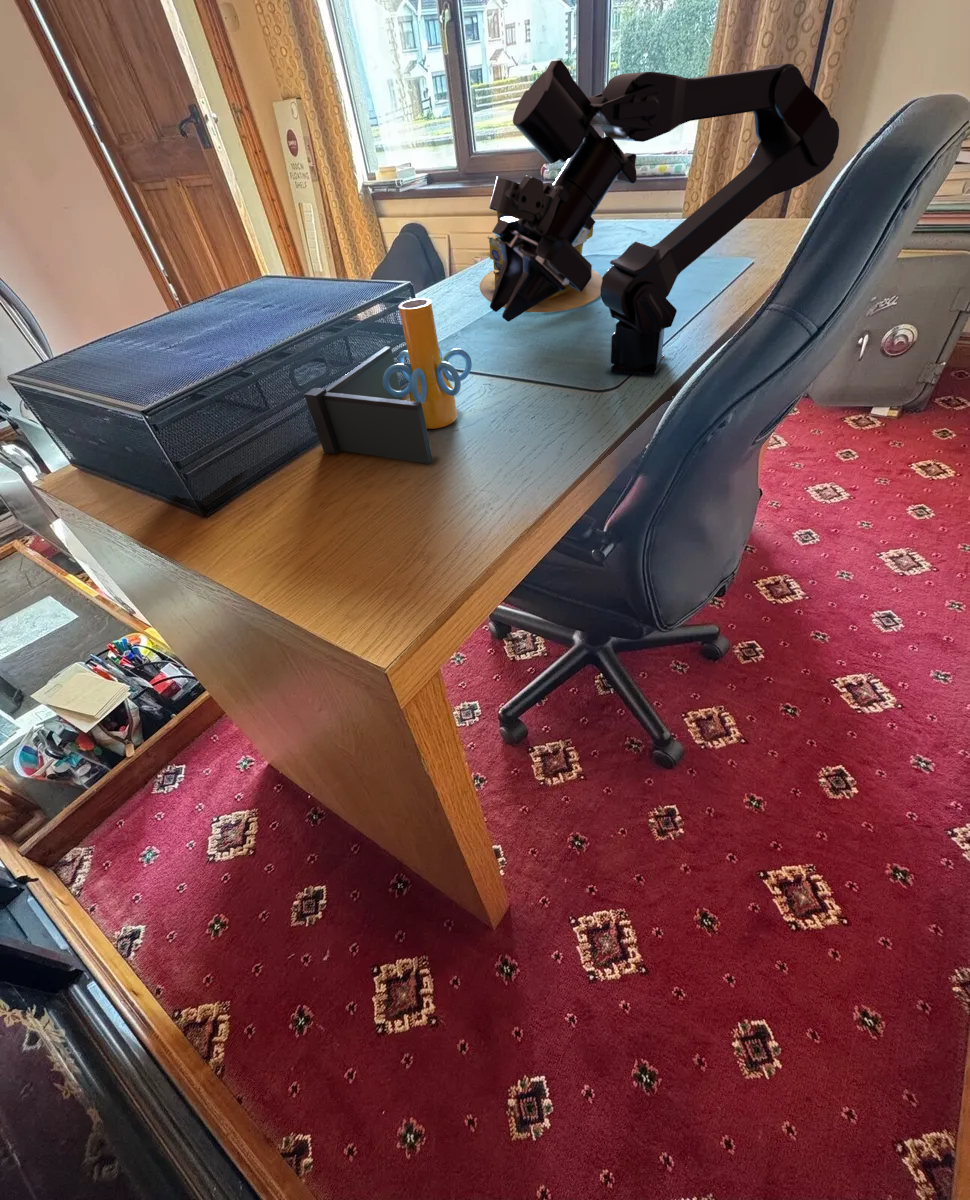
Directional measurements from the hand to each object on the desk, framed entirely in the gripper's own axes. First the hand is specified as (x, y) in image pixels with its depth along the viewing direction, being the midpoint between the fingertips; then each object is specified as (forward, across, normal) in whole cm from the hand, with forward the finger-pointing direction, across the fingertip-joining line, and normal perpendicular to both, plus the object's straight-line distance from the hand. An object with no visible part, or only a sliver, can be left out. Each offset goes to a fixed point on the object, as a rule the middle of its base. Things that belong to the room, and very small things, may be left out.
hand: (498, 314), depth 72 cm
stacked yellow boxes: (-8, -42, +25) cm, 50 cm away
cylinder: (+16, 0, +1) cm, 16 cm away
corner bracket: (+19, 0, -2) cm, 19 cm away
